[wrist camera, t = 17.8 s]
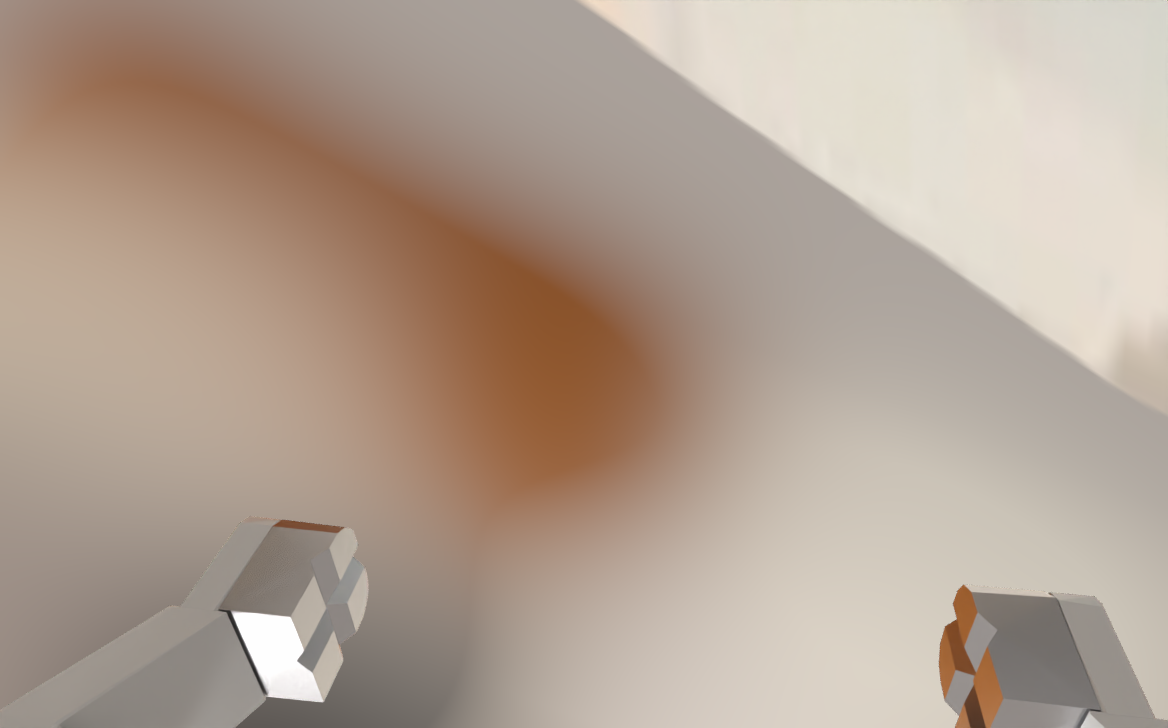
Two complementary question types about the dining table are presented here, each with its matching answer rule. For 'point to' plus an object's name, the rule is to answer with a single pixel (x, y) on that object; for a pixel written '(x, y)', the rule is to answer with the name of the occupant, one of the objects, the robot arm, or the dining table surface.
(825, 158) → the dining table surface
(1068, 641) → the robot arm
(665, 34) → the dining table surface
